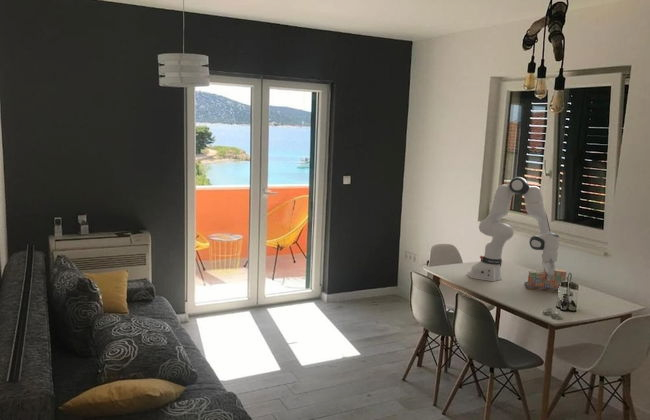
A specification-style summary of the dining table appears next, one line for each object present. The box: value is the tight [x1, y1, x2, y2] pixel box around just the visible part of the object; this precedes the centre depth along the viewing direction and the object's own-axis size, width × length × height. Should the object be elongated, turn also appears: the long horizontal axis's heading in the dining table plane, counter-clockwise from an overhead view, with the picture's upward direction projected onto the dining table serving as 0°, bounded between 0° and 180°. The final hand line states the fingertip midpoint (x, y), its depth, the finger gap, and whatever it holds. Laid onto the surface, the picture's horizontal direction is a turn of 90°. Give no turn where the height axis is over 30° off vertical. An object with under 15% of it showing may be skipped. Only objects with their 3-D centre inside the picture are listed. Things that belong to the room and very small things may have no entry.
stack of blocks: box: [527, 267, 567, 289], centre depth 351 cm, size 21×6×12 cm, turn 81°
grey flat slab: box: [523, 281, 558, 293], centre depth 352 cm, size 25×10×2 cm, turn 80°
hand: (546, 278), depth 351 cm, fingers open, 7 cm apart
